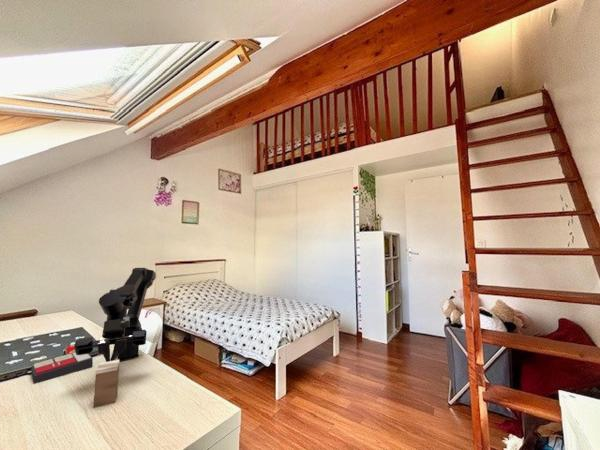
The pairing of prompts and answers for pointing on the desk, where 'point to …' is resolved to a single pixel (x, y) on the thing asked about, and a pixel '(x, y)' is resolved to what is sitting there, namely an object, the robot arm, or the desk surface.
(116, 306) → the robot arm
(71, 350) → the race car
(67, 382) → the desk surface
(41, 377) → the calculator
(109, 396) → the beige tall block
